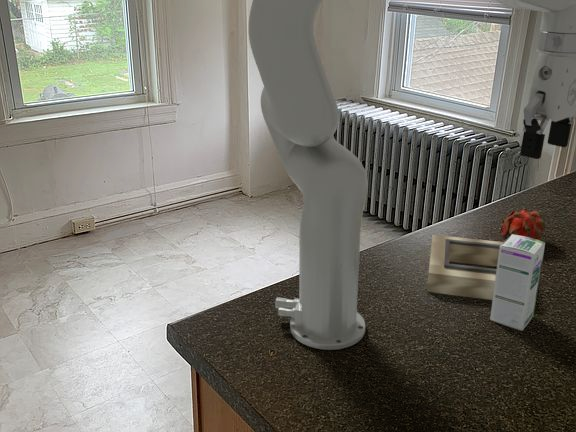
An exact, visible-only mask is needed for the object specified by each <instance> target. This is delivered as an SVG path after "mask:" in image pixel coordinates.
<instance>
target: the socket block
mask: <svg viewBox="0 0 576 432" xmlns="http://www.w3.org/2000/svg"><path fill="white" fill-rule="evenodd" d="M431 237H432V238H431V247H430V256H429V265H428V266H429V267H428V275H427V286H426V292H427V293H432V294H433V293H434V294H442V295H451V296H457V297H458V296H459V297H464V298H465V297H466V298H474V299H481V300H488V301H489V300H490V301H493V293H494V285H495V278H496V271H497V263H498V256H499V248H500V246H501V245H502V244H503V243H504V241H497V240H485V239H476V238H468V237H467V238H465V237H459V236H458V237H457V236H448V235H439V234H432V236H431ZM450 262H451V263H450ZM456 263H460V264H456ZM464 264H466V265H464ZM468 264H469V265H468ZM474 265H477V266H474ZM480 266H481V267H480ZM482 266H485V267H482ZM487 266H488V267H487ZM491 267H496V268H491Z"/></svg>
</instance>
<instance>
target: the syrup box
mask: <svg viewBox="0 0 576 432" xmlns="http://www.w3.org/2000/svg"><path fill="white" fill-rule="evenodd" d="M503 242H504V243H503V244H502V245H501V246H500V248H499V256H498V263H497V267H496V269H497V271H496V278H495V285H494V293H493V300H491V310H490V317H489V319H490V321H492V322H494V323H497V324H501V325H503V326H506V327H509V328H512V329H515V330H518V331H524V329H525V328H526V327H527V325H528V324H529V323H530V322H531V320H532V318H533V317H534V314H535V310H536V309H535V307H536V302H537V301H536V300H537V295H538V289H539V284H540V279H541V278H540V277H541V273H542V271H541V270H542V265H543V259H544V253H545V246H546V242H544V241H543V240H538V239H533V238H530V237H525V236H519V235H514V234H512V235H511V236H510V237H509V238H508V239H505V240H504V241H503Z"/></svg>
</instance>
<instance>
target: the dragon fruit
mask: <svg viewBox="0 0 576 432" xmlns="http://www.w3.org/2000/svg"><path fill="white" fill-rule="evenodd" d="M545 223H546V222H545V218H544V217H543V216H542V215H541V213H540V212H539V211H537V210H532V211H529V210H528V208H525V207H523V208H522V210H521V211H517V210H513V211H511V212H510V213H509V214H508V215H507V216H506V217H505V218H504V219H503V220H502V223H501V227H500V230H499V233H500V234H501V236H502V238H503V240H504V241H506V240H507V239H508V238H509V237H510V236H511V235H512V234H514V235H519V236H525V237H530V238H533V239H536V240H540V241H543V240H544V239H545V238H546V235H545V234H544V232H543V231H545V230H546V229H547V225H546V224H545Z"/></svg>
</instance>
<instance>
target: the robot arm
mask: <svg viewBox="0 0 576 432" xmlns="http://www.w3.org/2000/svg"><path fill="white" fill-rule="evenodd" d="M323 1H324V0H252V2H251V6H250V11H249V17H248V18H249V19H248V40H249V45H250V49H251V52H252V57H253V59H254V62H255V65H256V66H257V69H258V72H259V76H260V79H261V82H262V85H263V87H262V90H261V95H260V108H261V113H262V117H263V120H264V122H265V124H266V126H267V127H266V128H267V130H268V131H269V135H270V137H271V138H272V141H273V143H274V146H275V149H276V151H277V154H278V157H279V158H280V161H281V163H282V165H283V167H284V169H285V172H286V173H287V176H289V178H290V179H291V180H292V183H294V185H295V186H296V187H297V188H298V190H299V191H300V192H301V194H302V198H303V199H302V201H303V204H302V205H303V206H302V210H301V211H302V212H301V215H300V221H299V235H298V237H299V238H298V240H299V241H298V242H299V243H298V246H299V252H298V253H299V256H298V257H299V263H298V264H299V265H298V266H299V267H298V268H299V272H298V275H299V276H298V277H299V281H298V282H299V283H298V284H299V287H298V289H299V293H298V295H299V296H298V297H299V298H298V297H297V298H296V297H294V299H292V298H291V299H290V298H285V297H279V296H276V298H275V302H274V307H275V309H278V310H277V315H278V316H279V317H280V316H281V317H291V318H290V322H289V327H290V333H291V334H292V337H293V338H294V339H296V340H297V342H299V343H300V344H302V345H305V346H307V347H310V348H313V349H318V350H324V351H332V350H333V351H334V350H336V351H337V350H342V349H345V348H348V347H351V346H354V345H355V344H358V342H360V341H361V340H362V339H363V337H364V336H365V333H366V322H365V319H364V317H363V316H362V315H361V313H359V312H358V311H357V309H358V292H359V291H358V290H359V289H358V288H359V268H360V249H361V248H360V247H361V231H362V230H361V229H362V219H363V213H364V209H365V205H366V201H367V200H366V199H367V196H368V188H369V187H368V186H369V182H368V175H367V172H366V169H365V168H364V165H363V164H362V162H361V160H360V159H359V158H358V157H357V156H356V155H355V154H354V153H353V152H352V151H351V150H349V149H348V148H347V147H345V146H344V145H342V144H341V143H340V142H338V141H337V140H336V139H335V136H334V134H335V132H336V131H337V128H338V125H339V119H340V117H339V116H340V115H339V107H338V104H337V100H336V98H335V96H334V93H333V90H332V88H331V86H330V83H329V82H330V81H329V80H328V76H327V74H326V72H325V69H324V65H323V63H322V60H321V57H320V53H319V50H318V47H317V43H316V39H315V32H314V31H315V30H314V29H315V28H314V27H315V20H316V16H317V13H318V10H319V9H320V6H321V5H322V3H323ZM497 2H498V3H500V4H501V5H502V6H505V7H507V8H511V9H516V10H525V11H537V12H542V15H541V20H540V21H541V22H540V27H539V33H538V37H537V43H536V44H537V45H536V50H535V51H536V54H538V55H537V56H538V57H537V58H536V62H535V67H534V71H533V74H532V79H531V82H530V87H529V92H528V93H529V94H528V99H527V104H526V106H525V107H524V108H523V120H522V124H523V127H522V128H523V129H522V132H523V134H522V135H523V136H522V141H521V147H520V152H519V154H520V156H522V157H525V158H530V159H535V160H539V159H541V157H542V153H543V148H544V142H545V136H546V134H544V131H545V130H546V127H547V125H548V123H549V122H550V128H549V133H548V138H547V144H548V145H551V146H555V147H556V146H557V147H561V148H566V147H567V146H568V144H569V139H570V134H571V129H572V123H573V122H574V117H575V116H576V0H497ZM550 120H551V121H550ZM539 121H540V123H539Z"/></svg>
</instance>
